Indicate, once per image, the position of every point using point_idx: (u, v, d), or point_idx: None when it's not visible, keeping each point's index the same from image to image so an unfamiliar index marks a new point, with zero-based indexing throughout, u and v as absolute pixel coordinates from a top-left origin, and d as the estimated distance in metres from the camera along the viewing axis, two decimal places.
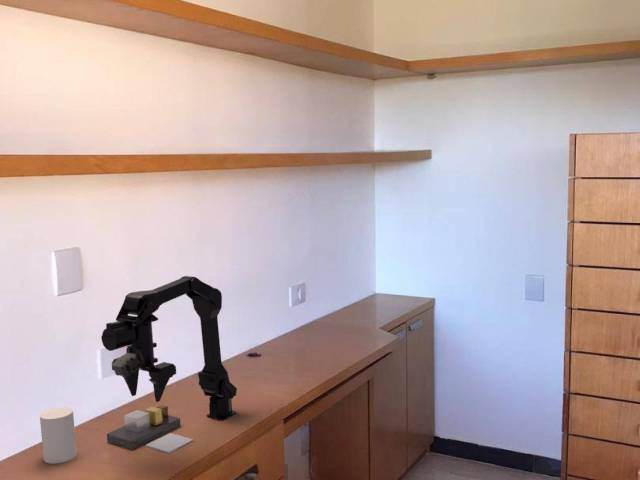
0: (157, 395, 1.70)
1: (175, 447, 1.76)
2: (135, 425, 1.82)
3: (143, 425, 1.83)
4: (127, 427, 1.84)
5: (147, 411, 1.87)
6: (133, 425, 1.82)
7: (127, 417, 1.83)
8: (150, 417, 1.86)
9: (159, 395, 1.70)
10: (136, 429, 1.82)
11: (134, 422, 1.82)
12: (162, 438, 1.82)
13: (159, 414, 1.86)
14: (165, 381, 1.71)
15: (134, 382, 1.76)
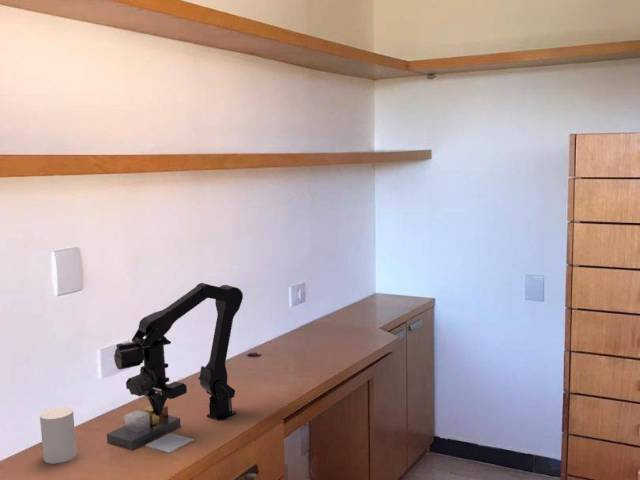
0: (158, 409, 1.85)
1: (175, 447, 1.76)
2: (135, 425, 1.82)
3: (143, 425, 1.83)
4: (127, 427, 1.84)
5: (144, 410, 1.88)
6: (133, 425, 1.82)
7: (127, 417, 1.83)
8: None
9: (159, 409, 1.86)
10: (136, 429, 1.82)
11: (134, 422, 1.82)
12: (162, 438, 1.82)
13: None
14: None
15: None
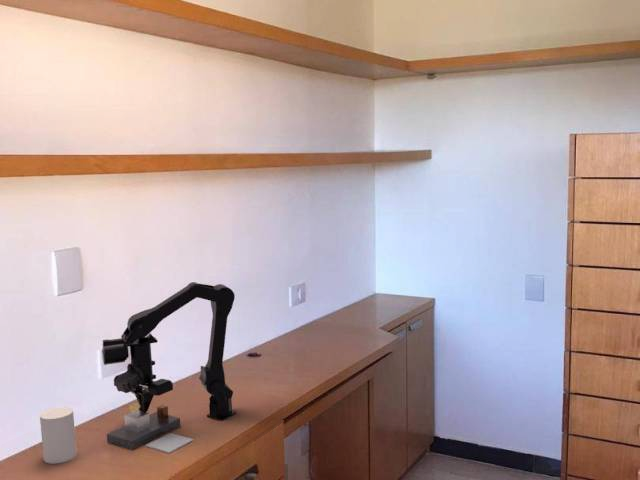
0: (145, 406, 1.88)
1: (175, 447, 1.76)
2: (135, 425, 1.82)
3: (143, 425, 1.83)
4: (127, 427, 1.84)
5: (131, 407, 1.90)
6: (133, 425, 1.82)
7: (127, 417, 1.83)
8: None
9: (146, 406, 1.89)
10: (136, 429, 1.82)
11: (134, 422, 1.82)
12: (162, 438, 1.82)
13: None
14: None
15: None
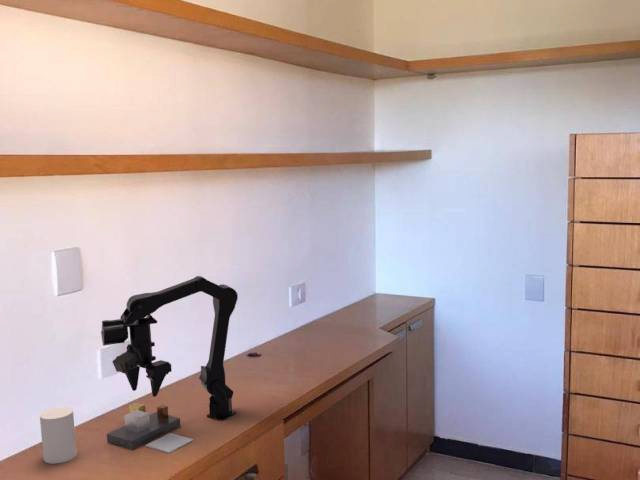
0: (154, 390, 1.84)
1: (175, 447, 1.76)
2: (135, 425, 1.82)
3: (143, 425, 1.83)
4: (127, 427, 1.84)
5: (131, 407, 1.91)
6: (133, 425, 1.82)
7: (127, 417, 1.83)
8: None
9: (156, 390, 1.85)
10: (136, 429, 1.82)
11: (134, 422, 1.82)
12: (162, 438, 1.82)
13: (142, 410, 1.90)
14: (161, 378, 1.85)
15: (135, 378, 1.91)
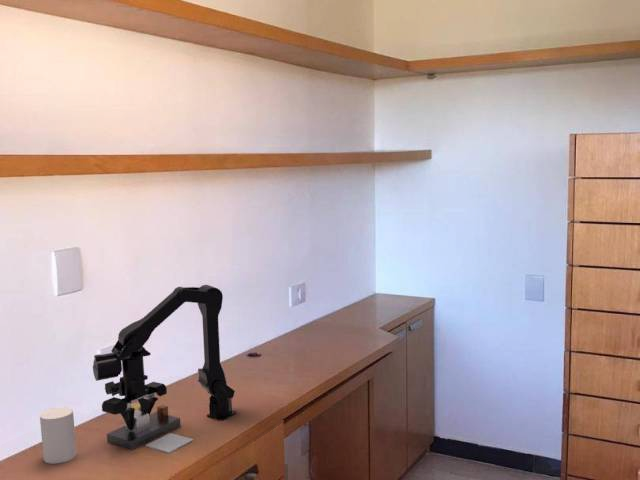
0: (126, 423, 1.83)
1: (175, 447, 1.76)
2: (135, 425, 1.82)
3: (143, 425, 1.83)
4: (127, 427, 1.84)
5: (131, 407, 1.91)
6: (133, 425, 1.82)
7: None
8: None
9: (128, 424, 1.82)
10: (136, 429, 1.82)
11: (134, 422, 1.82)
12: (162, 438, 1.82)
13: None
14: (128, 415, 1.80)
15: None
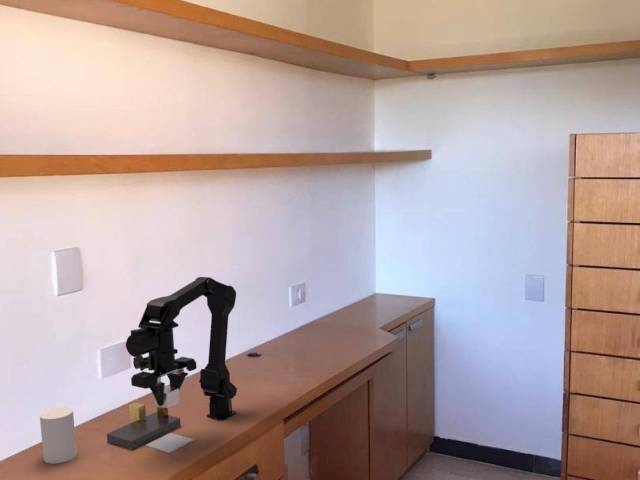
0: (156, 399, 1.76)
1: (175, 447, 1.76)
2: (165, 400, 1.75)
3: (173, 400, 1.77)
4: (156, 403, 1.77)
5: (131, 407, 1.91)
6: (163, 401, 1.76)
7: None
8: (134, 413, 1.90)
9: (158, 400, 1.76)
10: (166, 404, 1.75)
11: (164, 397, 1.75)
12: (162, 438, 1.82)
13: (142, 410, 1.90)
14: (158, 389, 1.74)
15: None
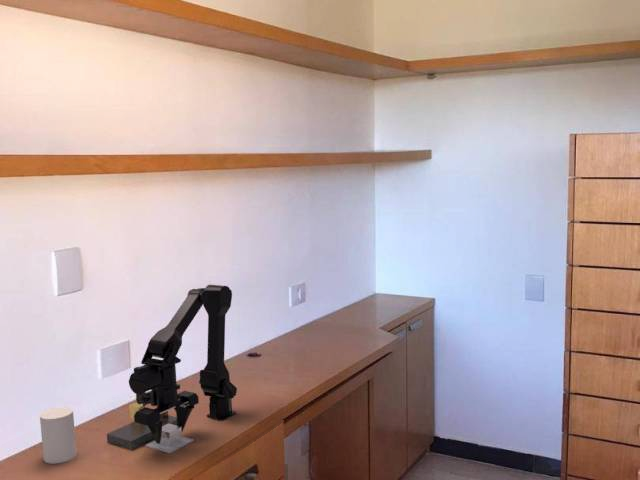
0: (153, 436, 1.76)
1: (175, 447, 1.76)
2: (168, 439, 1.77)
3: (176, 439, 1.78)
4: None
5: (131, 407, 1.91)
6: (166, 440, 1.77)
7: None
8: (134, 413, 1.90)
9: (155, 438, 1.75)
10: (169, 443, 1.77)
11: (167, 436, 1.77)
12: None
13: None
14: (155, 428, 1.73)
15: (181, 420, 1.82)
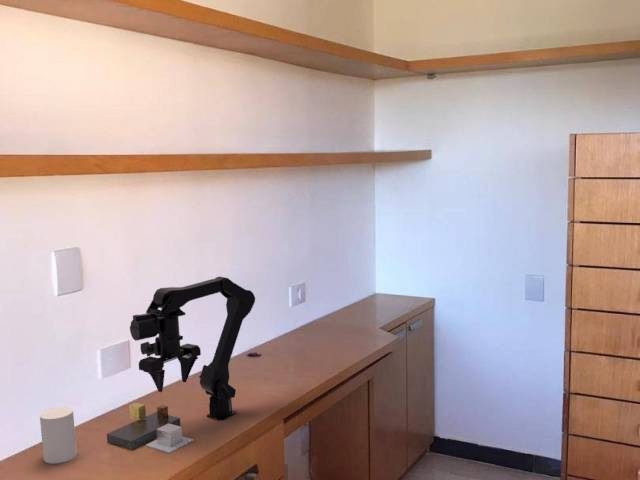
0: (156, 385, 1.83)
1: (175, 447, 1.76)
2: (168, 439, 1.77)
3: (176, 439, 1.78)
4: (159, 441, 1.79)
5: (131, 407, 1.91)
6: (166, 440, 1.77)
7: (159, 431, 1.78)
8: (134, 413, 1.90)
9: (158, 386, 1.82)
10: (169, 443, 1.77)
11: (167, 436, 1.77)
12: None
13: (142, 410, 1.90)
14: (158, 376, 1.80)
15: (185, 370, 1.90)
